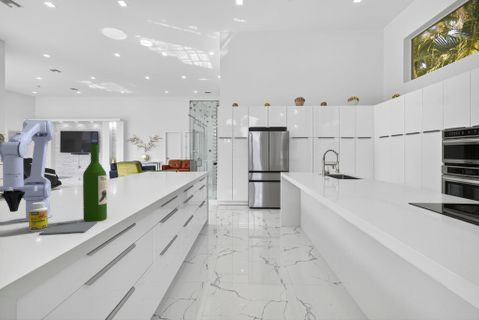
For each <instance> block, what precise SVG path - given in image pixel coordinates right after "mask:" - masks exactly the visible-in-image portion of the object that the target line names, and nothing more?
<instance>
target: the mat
mask: <svg viewBox="0 0 479 320" xmlns="http://www.w3.org/2000/svg"><path fill="white" fill-rule="evenodd" d="M97 223H98V222H84V221H82V222H81V221H78V222H61V223H59V222H58V223H56V224H55V225H52V226H50V227H48V228H47V229H46V230H44V231H40V233H39V236H44V235H45V236H47V235H49V236H51V235H66V234H68V235H69V234H83V233H86V232H87V231H89V230H90V229H91V228H92V227H94V226H96V224H97Z"/></svg>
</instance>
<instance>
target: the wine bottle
mask: <svg viewBox="0 0 479 320" xmlns="http://www.w3.org/2000/svg"><path fill="white" fill-rule="evenodd" d="M99 151H100V150H99V144H90V162H89V164H88V166H87V167H86V168H85V170H84V172H83V175H82V197H83V198H82V199H83V200H82V201H83V204H82V207H83V208H82V210H83V213H82V215H83V222H84V221H85V222H97V223H98V222H103V221H106V220H107V219H108V210H107V209H108V207H107V204H108V198H107V197H108V195H107V194H108V193H107V191H108V190H107V189H108V186H107V185H108V182H107V178H108V177H107V172H106V170H105V169H104V168H103V166H102V164H101V163H100V159H99V158H100V154H99V153H100V152H99Z"/></svg>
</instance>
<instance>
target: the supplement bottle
mask: <svg viewBox="0 0 479 320" xmlns="http://www.w3.org/2000/svg"><path fill="white" fill-rule="evenodd" d="M31 207H32V208H31V209H30V210H29V221H28V231H29V232H31V233H38V232H43V231H45V230H47V229H49V226H48V223H49V221H48V219H49V218H48V209H47V208H46V207H45V202H37V203H32V206H31Z"/></svg>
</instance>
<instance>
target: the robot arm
mask: <svg viewBox="0 0 479 320" xmlns="http://www.w3.org/2000/svg"><path fill="white" fill-rule="evenodd" d="M54 132H55V131H54V124H53V121H52V120H51V119H48V120H47V119H45V120H44V119H29V118H28V119H27V118H25V120H24V121H23V123H22V129H21V131H17V132H15V133H14V135H12V137H10V139H8V141H3V142H1V143H0V162H1V163H2V186H1V185H0V193H1V197H2V198H3V199H4V201H5V202H6V204H7V206H8V209H9V213H14V212H15V213H16V212H18V210H19V207H20V204H21V201H22V199H23V200H24V201H25V218H24V219H22V220H21V221H20V222H21V223H22V222H23V223H24V222H29V210H30V209H31V208H32V207H31V206H32V203H37V202H45V207H46V208H47V209H48V219H49V218H51V217H53V215H52V214H51V202H50V200H49V197H51V193H52V184H51V183H52V182H51V181H50V179H48V178H47V177H45V170H46V164H47V163H46V162H47V155H48V153H47V152H48V145H49V142H50V141H52V140H53V137H54ZM32 141H33V144H34V145H33V152H32V160H31V166H30V167H31V168H30V175H29V176H28V177H27V178H25V179H24V158H25V156H26V155H27V152H28V151H27V150H28V147H29V145H31V143H32Z"/></svg>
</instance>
